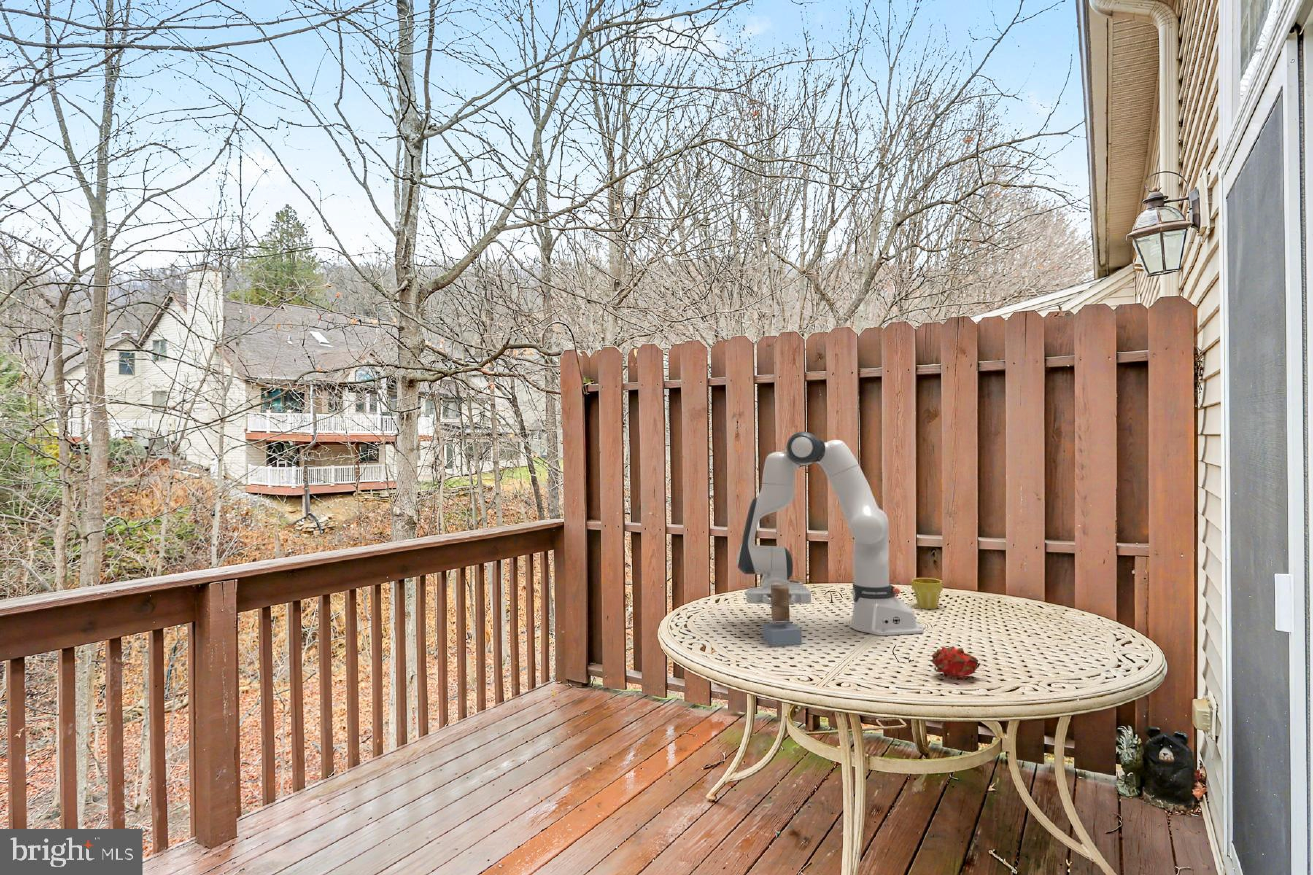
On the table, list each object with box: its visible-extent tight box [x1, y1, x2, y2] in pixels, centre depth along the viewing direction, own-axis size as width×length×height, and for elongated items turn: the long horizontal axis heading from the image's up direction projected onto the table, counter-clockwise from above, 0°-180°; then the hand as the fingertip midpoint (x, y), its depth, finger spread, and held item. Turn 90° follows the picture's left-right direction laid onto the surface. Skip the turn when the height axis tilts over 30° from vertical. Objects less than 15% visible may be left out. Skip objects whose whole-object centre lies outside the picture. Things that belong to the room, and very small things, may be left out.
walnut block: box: [770, 585, 791, 622], centre depth 197 cm, size 5×5×10 cm
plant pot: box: [911, 577, 943, 610], centre depth 234 cm, size 10×10×10 cm
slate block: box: [761, 620, 803, 648], centre depth 197 cm, size 9×9×5 cm
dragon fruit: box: [931, 645, 981, 681], centre depth 164 cm, size 8×8×12 cm
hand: (780, 601), depth 196 cm, fingers closed on walnut block, 5 cm apart
